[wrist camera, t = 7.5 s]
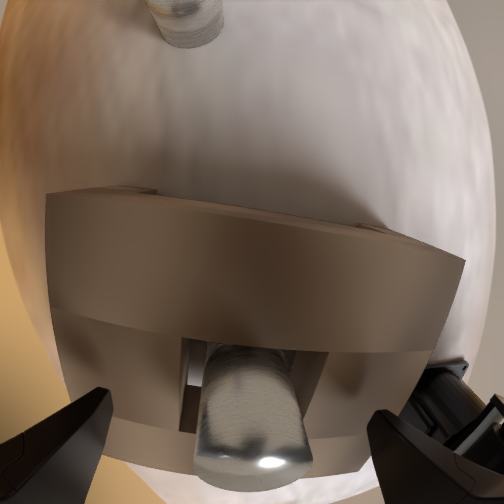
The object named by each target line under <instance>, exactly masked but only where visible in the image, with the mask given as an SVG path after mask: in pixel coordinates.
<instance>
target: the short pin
mask: <svg viewBox="0 0 504 504" xmlns="http://www.w3.org/2000/svg"><path fill="white" fill-rule="evenodd" d="M145 2H146V4H147V6H148V8H149V10H150V12H151V13H152V15H153V17H154V19H155V21H156V23H157V25H158V27H159V29H160V31H161V33H162V35H163V37H164V39H165V40H166V41H167V42H168V43H169V44H171V45H173V46H175V47H179V48H195V47H199V46H202V45H205V44H207V43H209V42H211V41H212V40H213V39H215V38H216V37H217V36H218V35H219V33H220V32H221V30H222V28H223V24H224V17H223V0H145Z"/></svg>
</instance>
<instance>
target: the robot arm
mask: <svg viewBox="0 0 504 504" xmlns="http://www.w3.org/2000/svg"><path fill="white" fill-rule="evenodd" d="M468 366H469V364H468V363H467V362H466V361H459V362H452V363H444V364H436V365H426V367H425V369H424V371H423V373H422V375H421V377H420V379H419V381H418V382H417V384H416V386H415V388H414V390H413V392H412V393H411V395H410V397H409V399H408V400H407V402H406V404H405V405H404V407H403V409H402V410H401V412H400V414H399V415H398V416H396V415H395V414H393V413H392V412H390V411H389V410H387V409H380V410H376V411H375V412H374V414H373V415H372V417H371V419H370V421H369V422H368V424H367V428H366V430H367V436H368V440H369V446H370V451H371V456H372V461H373V465H374V468H375V471H376V475H377V478H378V481H379V485H380V488H381V491H382V495H383V498H384V501H385V504H504V423H503V424H502V425H501V424H499V423H500V422H501V420H502V419H503V418H504V398H503V397H501V396H499V395H497V394H494V395H493V396H492V398H491V399H490V402H489V403H488V404H487V406H486V405H485V404H484V403H483V402H482V400H481V399H480V398H479V397H478V396H477V395H476V394H475V393H474V392H473V391H472V390H471V389H470V388H469V387H468V386H467V385H466V384H465V383H464V382H463V381H462V380H461V379H462V377H463V376H464V374H465V372H466V370H467V368H468ZM113 410H114V406H113V401H112V396H111V391H110V390H109V389H107V388H103V387H96V388H95V389H93V390H91V391H90V392H88V393H87V394H85V395H83V396H82V397H80V398H78V399H77V400H75V401H74V402H72V403H70V404H69V405H67V406H65V407H64V408H62V409H61V410H59V411H57V412H56V413H54V414H52V415H51V416H49V417H47V418H46V419H44V420H42V421H41V422H39V423H37V424H35V425H34V426H32V427H30V428H29V429H27V430H25V431H24V433H23V432H22V433H20V434H18V435H16V436H15V437H13V438H11V439H9V440H7V441H5V442H3V443H1V444H0V504H84V503H85V500H86V497H87V494H88V491H89V488H90V485H91V482H92V480H93V477H94V474H95V471H96V468H97V465H98V463H99V460H100V458H101V455H102V452H103V450H104V446H105V442H106V438H107V434H108V430H109V426H110V422H111V418H112V415H113Z"/></svg>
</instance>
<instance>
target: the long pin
mask: <svg viewBox="0 0 504 504" xmlns="http://www.w3.org/2000/svg"><path fill="white" fill-rule="evenodd" d="M312 463H313V456H312V452H311V448H310V445H309V441H308V438H307V434H306V431H305V427H304V423H303V420H302V416H301V413H300V409H299V406H298V402H297V399H296V395H295V391H294V388H293V384H292V381H291V377H290V374H289V370H288V367H287V363H286V360H285V356H284V353H283V349H273V348H262V347H252V346H242V345H234V344H225V343H218V342H210V341H208V344H207V351H206V359H205V366H204V374H203V381H202V389H201V397H200V405H199V413H198V422H197V431H196V440H195V449H194V459H193V469H194V471H195V473H196V474H197V476H198V477H199V478H200V479H202V480H203V481H205V482H206V483H208V484H210V485H212V486H215V487H218V488H221V489H225V490H230V491H237V492H259V491H267V490H272V489H276V488H280V487H283V486H285V485H288V484H290V483H292V482H294V481H296V480H298V479H299V478H301V477H302V476H303V475H305V474H306V473H307V472H308V471H309V469H310V468H311V466H312Z"/></svg>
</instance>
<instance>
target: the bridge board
mask: <svg viewBox="0 0 504 504" xmlns="http://www.w3.org/2000/svg"><path fill="white" fill-rule="evenodd" d="M45 252H46V271H47V284H48V294H49V303H50V310H51V317H52V324H53V330H54V335H55V341H56V346H57V351H58V355H59V360H60V364H61V368H62V372H63V376H64V380H65V383H66V387H67V390H68V394H69V397H70V400H71V403H72V402H74V401H75V400H77V399H78V398H80V397H82V396H83V395H85V394H87V393H88V392H90V391H91V390H93V389H95V388H96V387H103V388H107V389H109V390H110V391H111V396H112V401H113V406H114V410H113V415H112V418H111V422H110V426H109V430H108V434H107V438H106V442H105V446H104V450H103V452H102V455H105V456H108V457H112V458H115V459H119V460H122V461H126V462H129V463H133V464H137V465H141V466H146V467H150V468H155V469H160V470H165V471H170V472H176V473H182V474H189V475H196V476H197V474H196V473H195V471H194V469H193V459H194V449H195V440H196V431H197V422H198V413H199V405H200V397H201V389H202V387H199V386H193V385H187V379H188V363H189V348H190V339H196V340H203V341H210V342H218V343H225V344H234V345H242V346H252V347H262V348H273V349H286V350H297V352H296V356H295V359H294V362H293V366H292V369H291V372H290V377H291V381H292V384H293V388H294V391H295V395H296V399H297V402H298V406H299V409H300V413H301V416H302V420H303V423H304V427H305V431H306V434H307V438H308V441H309V445H310V448H311V452H312V456H313V463H312V466H311V468H310V469H309V471H308V472H307V473H306V474H305V475H303V476H302V477H301V478H313V477H323V476H331V475H339V474H345V473H351V472H357V471H359V470H360V469H361V467H362V466H363V465H364V464H365V462H366V461H367V460H368V459H369V457H370V456H371V451H370V446H369V440H368V436H367V430H366V428H367V424H368V422H369V421H370V419H371V417H372V415H373V414H374V412H375V411H376V410H380V409H387V410H389V411H390V412H392V413H393V414H395V415H396V416H398V415H399V414H400V412H401V410H402V409H403V407H404V405H405V404H406V402H407V400H408V399H409V397H410V395H411V393H412V392H413V390H414V388H415V386H416V384H417V382H418V381H419V379H420V377H421V375H422V373H423V371H424V369H425V367H426V365H427V363H428V361H429V359H430V357H431V354H432V352H433V350H434V348H435V346H436V343H437V341H438V339H439V336H440V334H441V332H442V329H443V327H444V324H445V322H446V319H447V317H448V314H449V311H450V309H451V306H452V303H453V300H454V297H455V294H456V291H457V288H458V285H459V282H460V279H461V275H462V272H463V269H464V265H465V261H466V260H464V259H462V258H460V257H457V256H455V255H453V254H450V253H448V252H446V251H443V250H441V249H438V248H436V247H433V246H431V245H429V244H426V243H424V242H421V241H419V240H416V239H413V238H411V237H408V236H406V235H403V234H400V233H398V232H395V231H392V230H390V229H385V228H381V227H376V226H372V225H367V224H362V223H358V226H357V228H356V227H351V226H346V225H341V224H336V223H331V222H326V221H320V220H315V219H309V218H304V217H298V216H293V215H287V214H281V213H275V212H269V211H263V210H257V209H251V208H244V207H238V206H231V205H224V204H218V203H211V202H203V201H196V200H189V199H181V198H173V197H165V196H157V195H156V190H154V189H145V188H135V187H125V186H111V187H101V188H91V189H82V190H73V191H65V192H57V193H50V194H46V212H45ZM301 478H299V479H301Z"/></svg>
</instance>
